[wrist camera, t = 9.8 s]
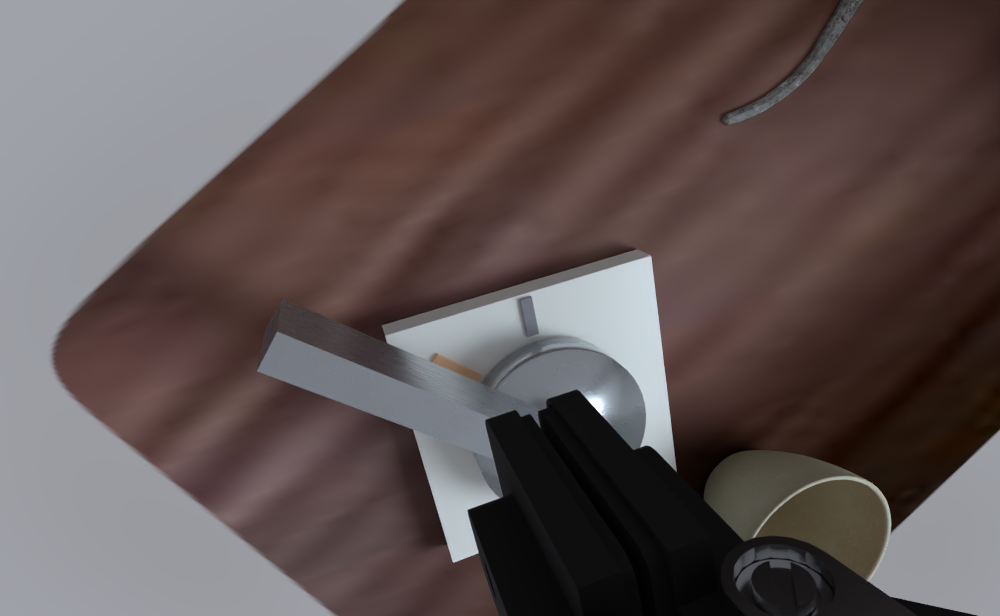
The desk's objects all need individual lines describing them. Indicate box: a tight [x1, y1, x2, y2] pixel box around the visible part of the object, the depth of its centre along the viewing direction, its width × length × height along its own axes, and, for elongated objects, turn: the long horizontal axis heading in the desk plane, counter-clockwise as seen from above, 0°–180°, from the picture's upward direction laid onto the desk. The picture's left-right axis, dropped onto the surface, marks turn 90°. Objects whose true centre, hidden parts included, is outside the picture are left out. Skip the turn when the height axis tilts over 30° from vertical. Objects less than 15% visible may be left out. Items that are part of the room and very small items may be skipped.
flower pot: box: [704, 450, 891, 582], centre depth 37 cm, size 10×10×7 cm
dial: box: [257, 299, 646, 498], centre depth 28 cm, size 20×9×6 cm, turn 59°
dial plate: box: [382, 249, 677, 563], centre depth 34 cm, size 14×14×2 cm
